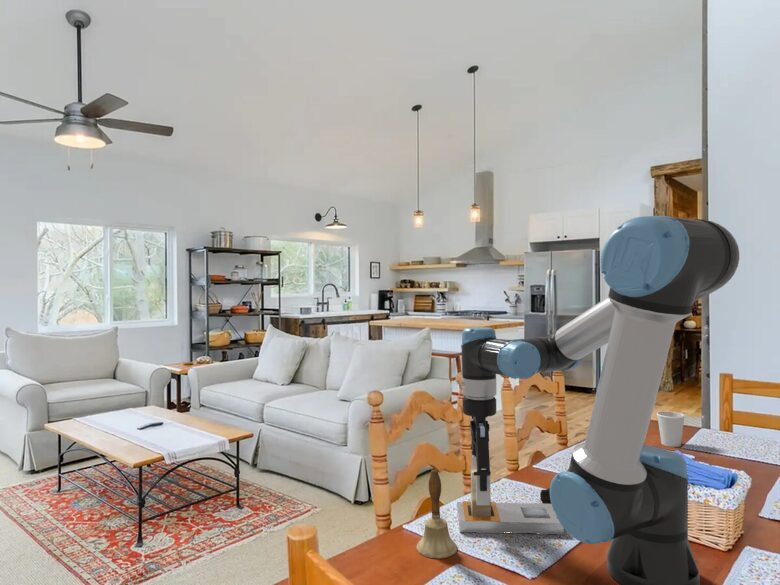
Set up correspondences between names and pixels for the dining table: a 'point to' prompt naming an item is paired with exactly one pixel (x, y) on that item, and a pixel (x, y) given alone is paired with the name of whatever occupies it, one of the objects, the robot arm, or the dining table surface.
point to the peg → (475, 509)
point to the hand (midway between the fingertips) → (480, 493)
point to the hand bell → (436, 527)
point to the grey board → (510, 519)
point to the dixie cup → (670, 427)
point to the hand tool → (545, 496)
